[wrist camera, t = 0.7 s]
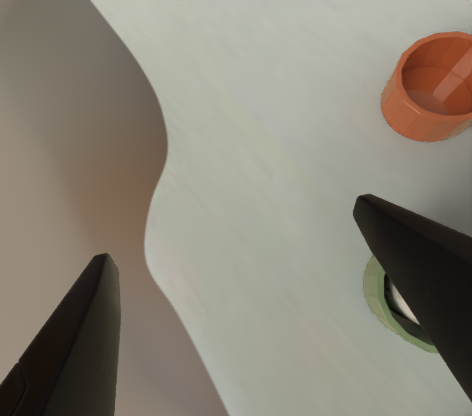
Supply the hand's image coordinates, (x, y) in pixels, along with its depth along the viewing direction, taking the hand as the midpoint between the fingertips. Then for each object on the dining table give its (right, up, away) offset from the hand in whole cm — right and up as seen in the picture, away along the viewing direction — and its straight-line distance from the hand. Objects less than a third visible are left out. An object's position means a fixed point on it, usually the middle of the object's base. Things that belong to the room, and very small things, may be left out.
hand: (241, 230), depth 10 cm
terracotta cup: (+16, +10, +14) cm, 23 cm away
